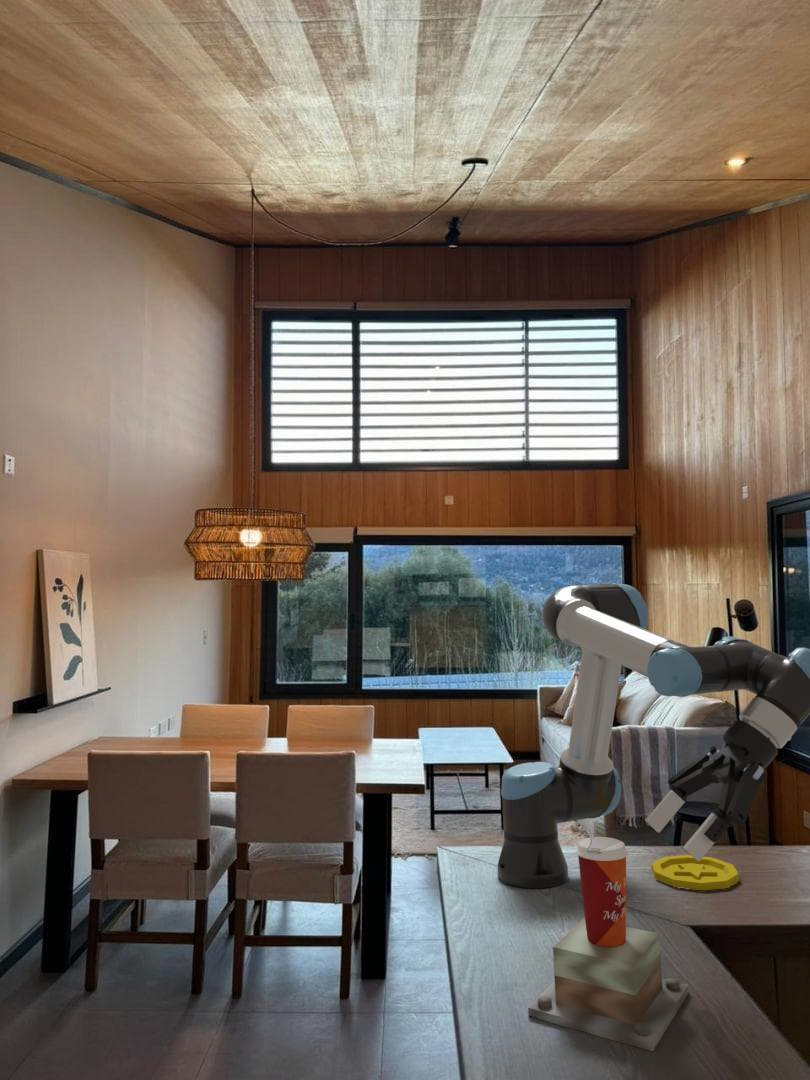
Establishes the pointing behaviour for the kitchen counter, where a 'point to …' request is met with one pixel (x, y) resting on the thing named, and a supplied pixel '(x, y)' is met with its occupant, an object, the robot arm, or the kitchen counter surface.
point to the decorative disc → (695, 872)
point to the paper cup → (603, 889)
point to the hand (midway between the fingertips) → (670, 840)
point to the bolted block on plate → (611, 989)
